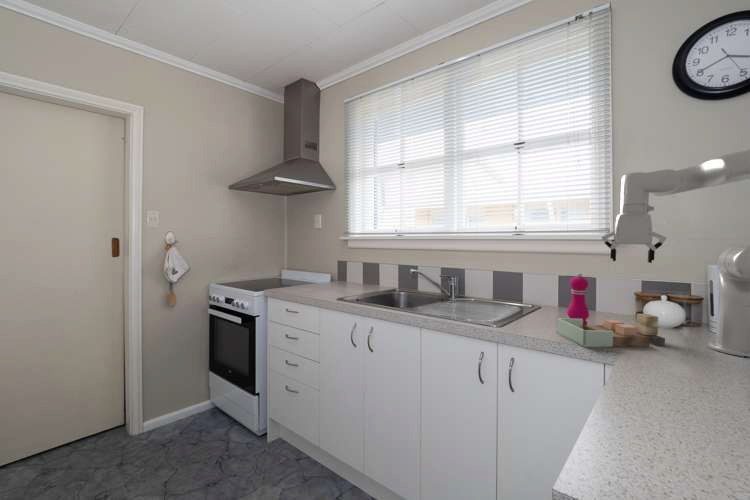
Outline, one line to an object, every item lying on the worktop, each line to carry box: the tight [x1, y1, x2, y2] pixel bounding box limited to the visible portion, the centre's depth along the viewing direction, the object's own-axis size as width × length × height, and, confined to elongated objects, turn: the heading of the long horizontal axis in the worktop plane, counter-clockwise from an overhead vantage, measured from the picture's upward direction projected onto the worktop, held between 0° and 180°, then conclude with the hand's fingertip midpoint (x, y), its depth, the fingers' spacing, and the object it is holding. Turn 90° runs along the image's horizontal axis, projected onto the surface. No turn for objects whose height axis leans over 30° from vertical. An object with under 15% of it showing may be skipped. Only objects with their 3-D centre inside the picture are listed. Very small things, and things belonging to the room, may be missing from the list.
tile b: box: [602, 319, 624, 330], centre depth 117 cm, size 4×4×2 cm
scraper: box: [635, 313, 666, 347], centre depth 114 cm, size 4×11×8 cm, turn 0°
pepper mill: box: [566, 272, 590, 325], centre depth 132 cm, size 7×7×20 cm
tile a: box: [615, 323, 637, 335], centre depth 111 cm, size 4×4×2 cm
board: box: [583, 324, 650, 348], centre depth 114 cm, size 12×14×3 cm
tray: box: [556, 317, 613, 348], centre depth 114 cm, size 9×16×5 cm, turn 0°
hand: (631, 261), depth 116 cm, fingers open, 9 cm apart
